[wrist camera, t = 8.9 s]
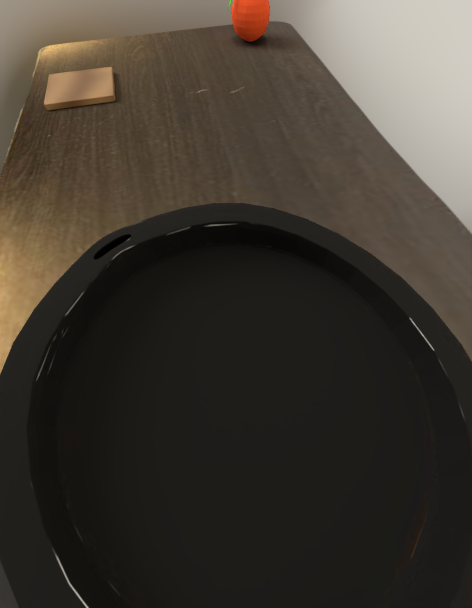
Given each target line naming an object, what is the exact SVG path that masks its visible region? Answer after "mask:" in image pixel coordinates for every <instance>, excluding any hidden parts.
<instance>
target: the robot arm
mask: <svg viewBox="0 0 472 608" xmlns="http://www.w3.org/2000/svg"><path fill="white" fill-rule="evenodd" d="M0 608H19V607H18V605H17V602H16V600H15V597H14V595H13V592H12V590H11V587H10V585H9V582H8V579H7V577H6V574H5V572H4V569H3V567H2V564H1V562H0Z"/></svg>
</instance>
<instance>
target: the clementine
mask: <svg viewBox="0 0 472 608" xmlns="http://www.w3.org/2000/svg"><path fill="white" fill-rule="evenodd" d="M231 2H232V0H230V4H231ZM230 4H229V7H230ZM269 16H270V6H269V1H268V0H234V2H233V5H232V22H233V26H234V29H235V31H236V33H237V34H238V36H239V37H241V38H242V39H243V40H245V41H248V42H252V41H255V40H257V39H259V38H260V37H261V36H262V35H263V33H264V32H265V30H266V28H267V25H268V22H269Z"/></svg>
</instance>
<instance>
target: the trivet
mask: <svg viewBox="0 0 472 608" xmlns="http://www.w3.org/2000/svg"><path fill="white" fill-rule="evenodd" d="M113 101H116V99H115V85H114V72H113V69H112V67H106V68H98V69H90V70H82V71H74V72H66V73H58V74H50V75H49V79H48V85H47V90H46V95H45V101H44V106H45V108H46V109H47V110H55V109H62V108H69V107H76V106H84V105H91V104H98V103H105V102H113Z"/></svg>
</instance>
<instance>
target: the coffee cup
mask: <svg viewBox="0 0 472 608" xmlns="http://www.w3.org/2000/svg"><path fill="white" fill-rule="evenodd" d="M0 562H1V564H2V567H3V569H4V572H5V574H6V577H7V579H8V582H9V585H10V587H11V590H12V592H13V595H14V597H15V600H16V602H17V605H18V607H19V608H472V361H471V360H470V358H469V356H468V355H467V353H466V351H465V349H464V348H463V346H462V345H461V343H460V342H459V341H458V339H457V338H456V337H455V336H454V334H453V333H452V332H451V331H450V329H449V328H448V327H447V326H446V324H445V323H444V322H443V321H442V319H441V318H440V317H439V316H438V314H437V313H436V312H435V311H434V309H433V308H432V307H431V306H430V305H429V304H428V303H427V302H426V301H425V300H424V299H423V298H422V297H421V296H420V295H419V294H418V293H417V292H416V291H415V290H414V289H413V288H412V287H411V286H410V285H409V284H408V283H407V282H406V281H405V280H404V279H403V278H401V277H400V276H399V275H397V274H396V273H395V272H394V271H392V270H391V269H390V268H388V267H387V266H386V265H385V264H383V263H382V262H381V261H380V260H378V259H377V258H376V257H374V256H373V255H372V254H371V253H369V252H367V251H366V250H364V249H362V248H361V247H359V246H357V245H356V244H354V243H353V242H351V241H349V240H348V239H346V238H344V237H343V236H341V235H340V234H338V233H336V232H333V231H331V230H329V229H327V228H325V227H323V226H320V225H318V224H316V223H314V222H312V221H310V220H308V219H305V218H302V217H299V216H296V215H293V214H290V213H287V212H283V211H280V210H277V209H274V208H268V207H262V206H256V205H251V204H245V203H212V204H206V205H199V206H193V207H187V208H183V209H179V210H175V211H171V212H168V213H164V214H160V215H157V216H155V217H152V218H149V219H146V220H143V221H140V222H137V223H135V224H132V225H129V226H127V227H124V228H122V229H119V230H117V231H115V232H112V233H110V234H108V235H107V236H105V237H103V238H102V239H100V240H99V241H98V242H96V243H95V244H94V245H93V246H91V247H90V248H89V249H88V250H87V251H86V252H85V253H84V254H83V255H82V256H81V257H80V258H79V259H78V260H77V261H76V262H75V263H74V264H73V265H72V266H71V267H70V268H69V269H68V270H67V271H66V272H65V273H64V275H63V276H62V277H61V278H60V279H59V280H58V281H57V282H56V283H55V284H54V285H53V287H52V288H51V289H50V290H49V292H48V293H47V294H46V295H45V297H44V298H43V299H42V300H41V302H40V303H39V304H38V305H37V307H36V308H35V309H34V311H33V312H32V314H31V315H30V317H29V319H28V320H27V322H26V323H25V325H24V326H23V328H22V330H21V331H20V333H19V334H18V336H17V338H16V339H15V341H14V342H13V345H12V347H11V350H10V352H9V355H8V357H7V359H6V362H5V364H4V367H3V369H2V372H1V374H0Z"/></svg>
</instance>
